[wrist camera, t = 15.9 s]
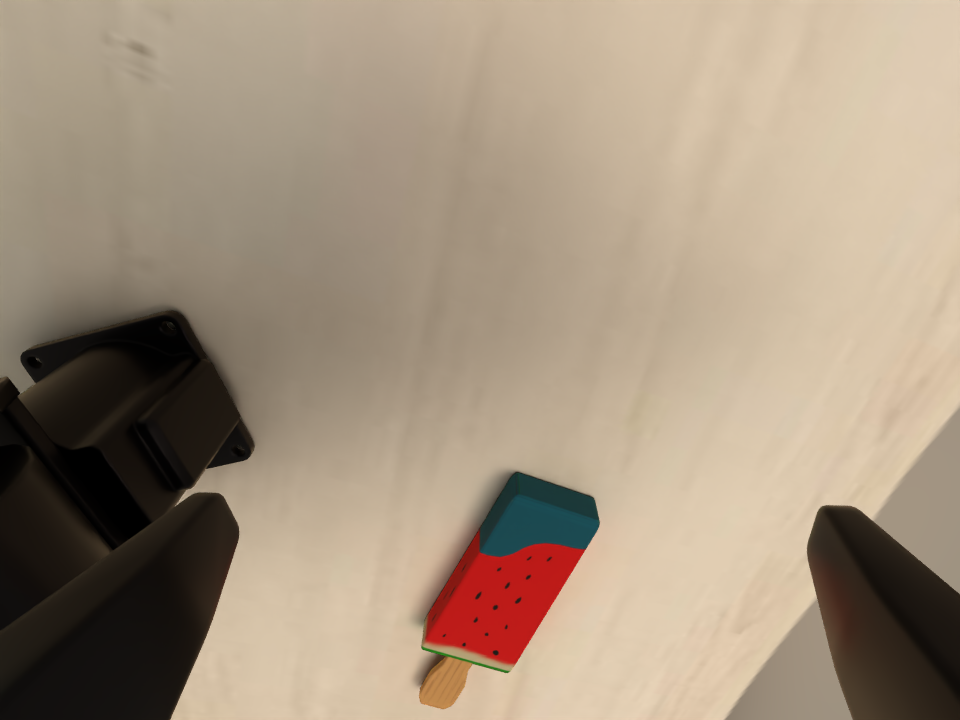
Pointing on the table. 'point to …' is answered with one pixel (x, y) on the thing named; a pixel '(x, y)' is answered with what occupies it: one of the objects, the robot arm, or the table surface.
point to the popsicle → (505, 582)
